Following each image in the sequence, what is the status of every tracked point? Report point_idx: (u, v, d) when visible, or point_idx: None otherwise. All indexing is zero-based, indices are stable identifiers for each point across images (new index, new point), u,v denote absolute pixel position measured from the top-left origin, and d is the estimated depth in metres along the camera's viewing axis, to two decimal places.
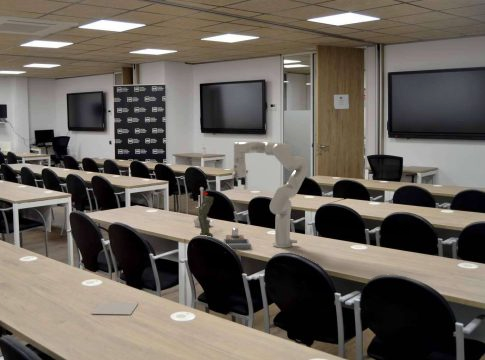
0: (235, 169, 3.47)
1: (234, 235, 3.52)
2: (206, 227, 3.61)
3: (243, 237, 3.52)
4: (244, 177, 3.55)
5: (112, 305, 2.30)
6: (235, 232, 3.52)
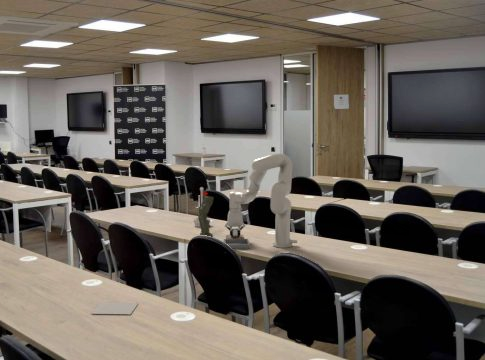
0: None
1: (234, 235, 3.52)
2: (206, 227, 3.61)
3: (243, 237, 3.52)
4: None
5: (112, 305, 2.30)
6: (235, 232, 3.52)
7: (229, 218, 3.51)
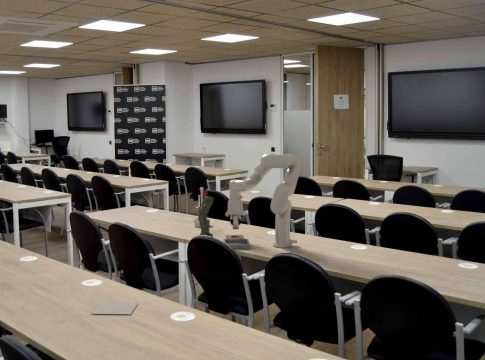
0: (242, 206, 3.52)
1: (235, 223, 3.51)
2: (206, 227, 3.61)
3: (243, 237, 3.52)
4: (231, 216, 3.54)
5: (112, 305, 2.30)
6: (236, 220, 3.51)
7: (229, 206, 3.50)
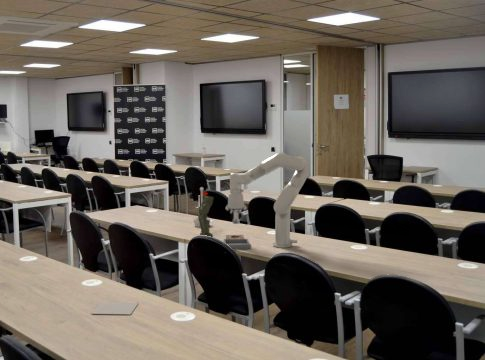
0: None
1: (235, 217, 3.42)
2: (206, 227, 3.61)
3: (243, 237, 3.52)
4: None
5: (112, 305, 2.30)
6: (236, 214, 3.42)
7: (229, 200, 3.41)
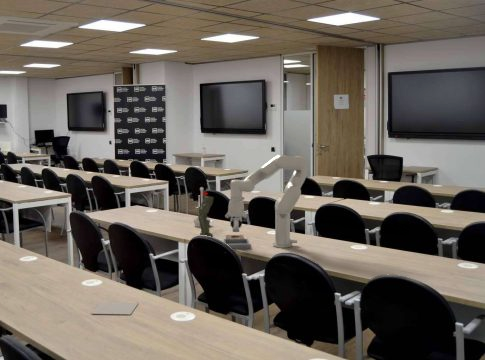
0: (243, 208, 3.35)
1: (235, 226, 3.34)
2: (206, 227, 3.61)
3: (243, 237, 3.52)
4: None
5: (112, 305, 2.30)
6: (236, 222, 3.34)
7: (230, 208, 3.33)
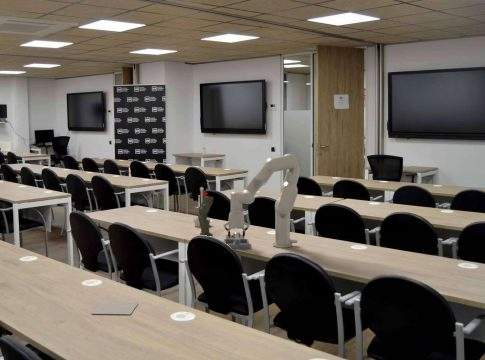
0: None
1: (236, 240, 3.36)
2: (206, 227, 3.61)
3: None
4: None
5: (112, 305, 2.30)
6: (237, 236, 3.35)
7: (230, 220, 3.34)
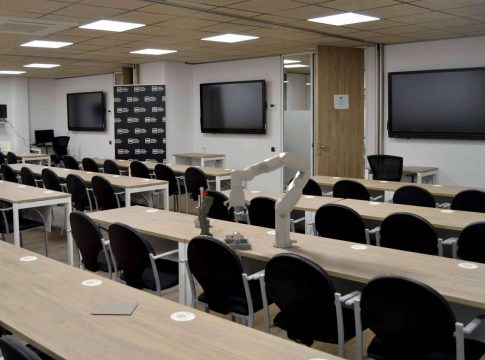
0: (244, 197, 3.35)
1: (236, 240, 3.35)
2: (206, 227, 3.61)
3: (243, 237, 3.52)
4: None
5: (112, 305, 2.30)
6: (237, 236, 3.35)
7: (231, 197, 3.32)
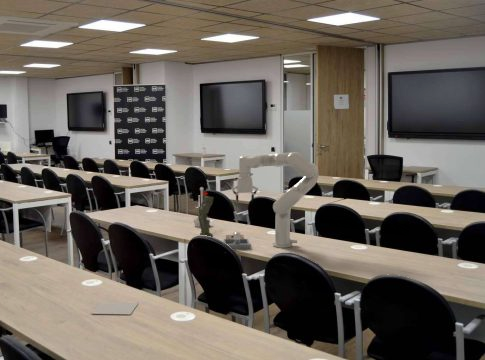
0: None
1: (236, 239, 3.36)
2: (206, 227, 3.61)
3: (243, 237, 3.52)
4: None
5: (112, 305, 2.30)
6: (237, 236, 3.35)
7: (239, 183, 3.39)
